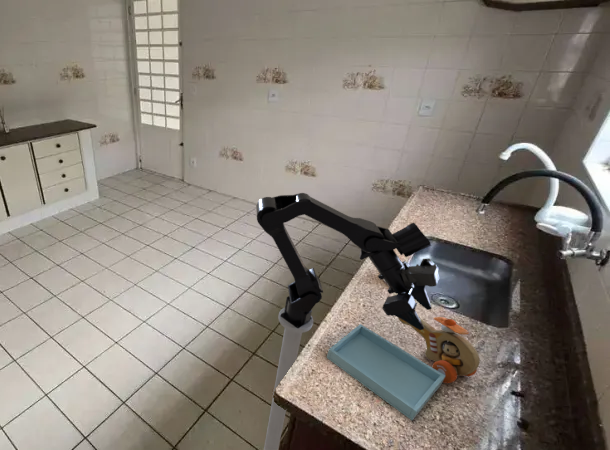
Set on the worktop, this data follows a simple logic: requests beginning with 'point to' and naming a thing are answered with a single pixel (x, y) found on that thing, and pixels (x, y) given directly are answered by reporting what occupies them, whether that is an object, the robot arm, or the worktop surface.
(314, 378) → the worktop surface
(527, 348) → the worktop surface
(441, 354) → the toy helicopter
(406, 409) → the teal tray
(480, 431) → the worktop surface
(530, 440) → the worktop surface
